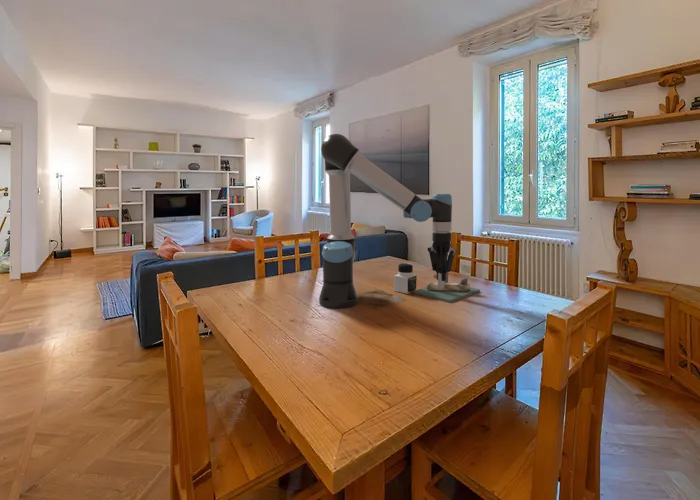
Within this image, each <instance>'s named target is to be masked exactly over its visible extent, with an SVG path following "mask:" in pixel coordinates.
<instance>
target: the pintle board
mask: <svg viewBox="0 0 700 500" xmlns="http://www.w3.org/2000/svg"><path fill="white" fill-rule="evenodd" d="M433 279H437V273H436V274H434V275H433ZM445 283H449V272H447V273H446V281H445ZM460 283H462V284H467V283H468V278H465V277H461V278H460ZM480 291H481V290H480V289H479V288H474V287H470V291H454V290H427V286H426V287H422V288H419V289H416V290H415V291H413V294H415V295H419V296H423V297H427V298H430V299H434V300H438V301H440V302H441V301H442V302H444V303H445V302H446V303H449V304H450V303H453V302H456V301H458V300H461V299H464V298H467V297H470V296H472V295H475V294H478V293H480Z"/></svg>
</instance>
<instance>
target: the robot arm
mask: <svg viewBox="0 0 700 500" xmlns="http://www.w3.org/2000/svg"><path fill="white" fill-rule="evenodd" d="M320 151H321V156H322V158H323V159H324V172H325V173H326V174H327V175H328V181H329V182H328V184H329V186H328V187H329V188H328V189H329V218H330V219H329V220H330V222H329V223H330V234H328V236H327V237H326V240H327V243H324V245H323V246H322V252H321V256H322V281H323V282H322V286H321V290H320V293H319V298H318V299H319V303H318V304H319V305H320V306H322V307H324V308H330V309H344V308H345V309H346V308H350V307H354V306H355V305H357V304H358V294H357V290H356V288H355V286H354V262H355V260H356V257H357V250H356V237H355V235H354V234H352V215H351V214H352V211H351V210H352V209H351V208H352V207H351V174H352V175H353V176H355V178H357V179H359V180H360V182H361V181H362V182H363V183H364V184H365V185H367V186H368V187H370V188H371V189H372V190H373V191H375V192H376V193H378V194H379V195H380V196H382V197H383V198H385V199H386V200H388V201H389V202H390V203H392V204H393V205H395V206H396V207H397V208H399V209H400V210H401V211H402V215H403V217H404V219H412V220H414V221H416V222H418V223H421V222H426V221H427V220H429V219H431V218H432V230H431V231H432V236H431V237H432V244H431V245H432V246H430V247H429V246H428V247H427V251H428V253H429V259H430V264H431V268H432V269H431V270H432V271H435V272H436V274H437V278H436V280H437V283H438V289H442V288H444V285H445V281H446V273H447V272H448V273H449V272H452V271H451V270H452V267H453V262H454V260H455V259H454V258H455V255H456V253H457V250H456V249H454V248H452V243H451V242H452V220H453V219H452V216H453V214H452V213H453V211H452V210H453V200H452V195H451V194H450V193H434V194H433V195H432V198H429V199H426V198H425V199H422V198H421V197H419V196H418V195H416V193H414V192H413V191H412V190H410V189H408V188H407V187H406V186H404V184H402V183H400V182H399V181H398V180H396V179H395V178H393V176H392V175H391V176H390V175H389V174H388V173H387V172H385V171H384V170H382V169H381V168H380V167H379V166H377V165H376V164H374V163H373V162H372V161H370V159H367V158H366V157H365V156H364V155H362V154H361V150H360V149H359V148H357V147H356V146H355V145H354V144H353V143H352V142H351V141H350V140H349V139H348V138H347V137H346V136H345V135H343V134H341V133H333V134H330V135H328V136H326V137H325V138H324V139H323V141H322V144H321V147H320Z"/></svg>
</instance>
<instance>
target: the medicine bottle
mask: <svg viewBox="0 0 700 500" xmlns="http://www.w3.org/2000/svg"><path fill="white" fill-rule="evenodd" d="M413 266H414V265H413V264H411V263H408V262H403V263H399V264H398V266H397V267H398V272H397V274H394V275H393V291H394V292H396V293H397V292H398V293H400V294H401V293H402V294H411V293H414V291H415V290H417V274H416V273H413Z"/></svg>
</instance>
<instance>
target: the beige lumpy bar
mask: <svg viewBox="0 0 700 500" xmlns="http://www.w3.org/2000/svg"><path fill="white" fill-rule="evenodd" d="M426 287H427V290H454V291H470V288H471V283H467V284H462V283H461V282H448V283H445V285H444V288H442V289H438V282H426Z"/></svg>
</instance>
